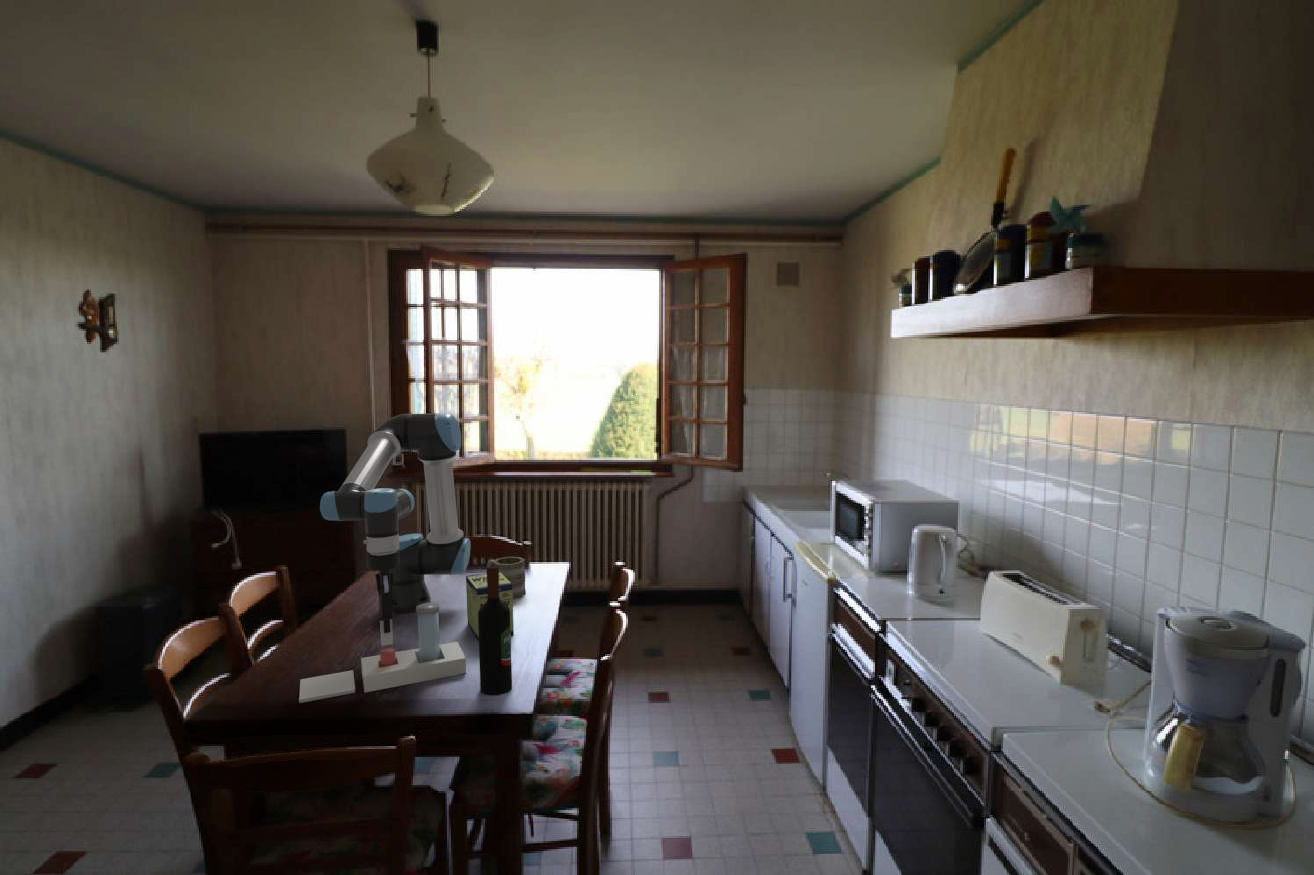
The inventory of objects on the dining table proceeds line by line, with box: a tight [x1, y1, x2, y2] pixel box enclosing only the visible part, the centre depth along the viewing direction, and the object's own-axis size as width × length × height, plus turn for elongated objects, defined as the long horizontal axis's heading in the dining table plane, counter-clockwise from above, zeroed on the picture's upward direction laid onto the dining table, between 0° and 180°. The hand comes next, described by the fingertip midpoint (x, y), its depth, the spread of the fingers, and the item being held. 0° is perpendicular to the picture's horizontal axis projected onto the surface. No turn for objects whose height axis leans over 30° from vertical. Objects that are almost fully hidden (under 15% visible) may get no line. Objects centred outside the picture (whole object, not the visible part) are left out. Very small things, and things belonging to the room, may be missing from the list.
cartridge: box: [415, 602, 440, 663], centre depth 178 cm, size 6×6×17 cm
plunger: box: [379, 647, 396, 667], centre depth 174 cm, size 4×4×4 cm
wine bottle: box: [478, 565, 513, 696], centre depth 167 cm, size 8×8×30 cm
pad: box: [298, 669, 356, 704], centre depth 169 cm, size 12×12×1 cm
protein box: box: [465, 572, 515, 642], centre depth 206 cm, size 10×16×16 cm
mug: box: [486, 556, 527, 600], centre depth 240 cm, size 16×11×12 cm
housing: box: [360, 641, 467, 693], centre depth 177 cm, size 12×24×4 cm, turn 116°
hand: (387, 643), depth 174 cm, fingers closed
